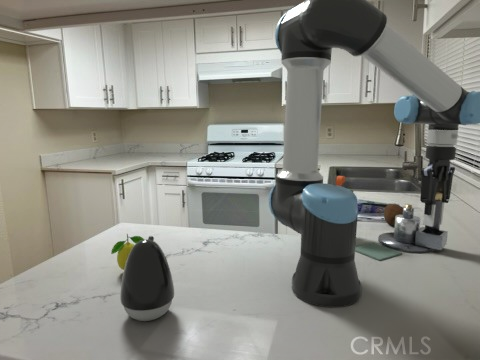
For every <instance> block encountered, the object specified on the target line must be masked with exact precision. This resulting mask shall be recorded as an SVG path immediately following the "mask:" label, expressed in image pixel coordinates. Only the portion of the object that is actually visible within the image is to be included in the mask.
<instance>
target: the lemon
mask: <svg viewBox="0 0 480 360" xmlns="http://www.w3.org/2000/svg"><path fill="white" fill-rule="evenodd" d="M129 239H130V240H131V241H132V242H133V243H132V242H129ZM141 240H145V239H144V237H141V236H140V235H134V236H131V237H130V236H129V234H128V233H126V240H122V241H121V240H120V241H118V242H116V243H115V244H114V245H113V246H112V248H111V252H110V253H111V255H113V254H116V253H117V254H116V255H117V256H116V262H117V264H118V265H117V266H118V267H119V268H120V269H121V270H123V271H124V268H125V265H126V261H127V258H128V256H129V253H130V251H131V249H132V248H133V246H134V245H135V244H136V243H137V242H139V241H141ZM134 243H135V244H134Z"/></svg>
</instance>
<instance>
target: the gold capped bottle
mask: <svg viewBox="0 0 480 360" xmlns="http://www.w3.org/2000/svg"><path fill="white" fill-rule="evenodd" d="M442 194H443V193H440V192H436V196H435V201H434V204H435V205H436V207H435V215H434V224H433V227H431V226H427V225H424V227H425V233H429V234H435V235H439V230H440V227H441V225H440V218H441V207H442Z"/></svg>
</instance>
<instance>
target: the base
mask: <svg viewBox="0 0 480 360" xmlns="http://www.w3.org/2000/svg"><path fill="white" fill-rule="evenodd" d="M377 237H378V238H377V239H378V240H377V241H378V243H379V245H382V246H385V247H388V248H390V249H393V250H396V251H399V252H402V253H403V252H405V253H412V254H413V253H415V254H417V253H418V254H420V253H421V254H422V253H430V252H432V251H434V250H435V249H433V248H428V247H424V246H419V245H415V243H404V242H400V241H397V240H395V239H394V231H393V232H385V233H381V234H379V235H378V236H377Z"/></svg>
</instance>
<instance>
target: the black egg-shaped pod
mask: <svg viewBox="0 0 480 360" xmlns="http://www.w3.org/2000/svg"><path fill="white" fill-rule="evenodd" d="M154 240H155V237H154V236H153V235H149V236H148V238H147V239H144V240H141V241H139V242H137V243H135V244H134V246H133V248H132V249H131V251H130V253H129V256H128V258H127V261H126V265H125V268H124V270H123V273H122V278H121V285H120V294H119V296H120V303H121V305H122V306H123V309H124V311H125V312H126V314H127V315H128V316H130V318H132V319H133V320H136V321H139V322H140V321H141V322H147V321H148V322H149V321H154V320H156V319H159V318H161V317H162V316H164V315H165V314H166V313H167V312H168V311H169V309H170V308H171V306H172V302H173V299H174V297H175V286H174V281H173V276H172V272H171V270H170V269H171V268H170V265H169V263H168V260H167V257H166V255H165V253H164V251H163V249H162V248H161V246H160V245H159V244H158V243H157V242H156V241H154Z"/></svg>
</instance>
